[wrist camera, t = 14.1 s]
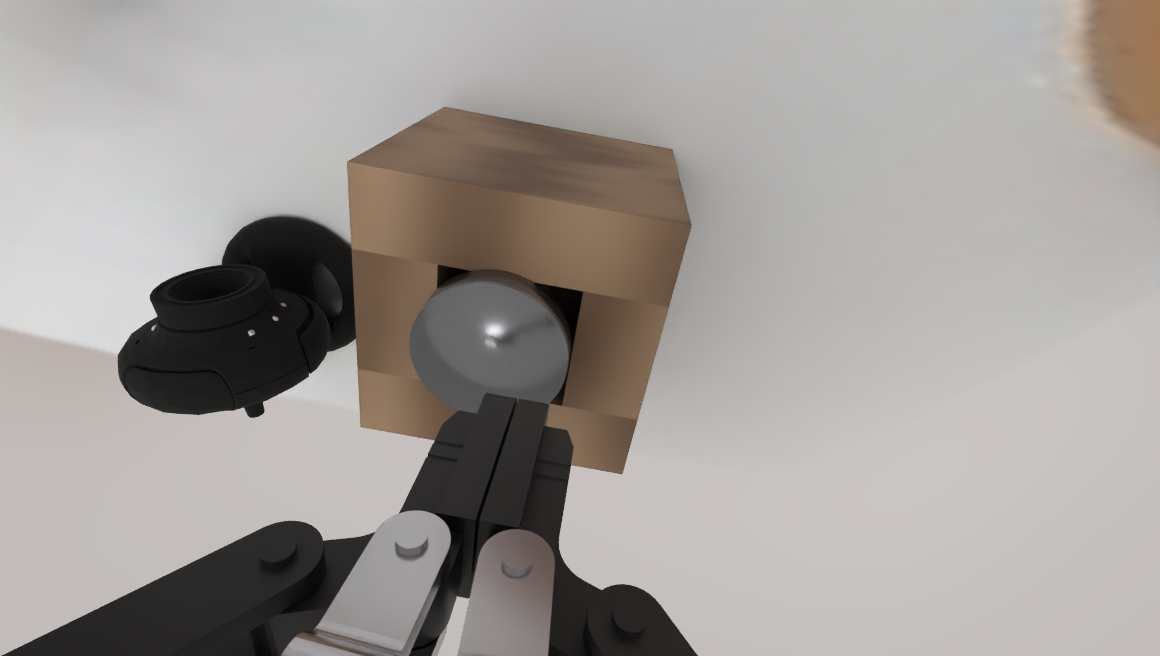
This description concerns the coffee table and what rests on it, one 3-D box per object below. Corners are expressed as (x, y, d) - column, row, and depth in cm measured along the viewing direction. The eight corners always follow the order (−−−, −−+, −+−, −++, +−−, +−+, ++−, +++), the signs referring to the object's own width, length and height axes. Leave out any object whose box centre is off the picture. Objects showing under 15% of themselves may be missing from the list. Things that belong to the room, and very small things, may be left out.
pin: (599, 197, 25) (580, 304, 16) (580, 295, 28) (555, 432, 19) (489, 176, 25) (410, 271, 16) (480, 276, 28) (408, 405, 19)
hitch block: (672, 149, 24) (691, 225, 16) (625, 342, 29) (622, 474, 21) (444, 107, 24) (347, 162, 16) (437, 307, 29) (360, 426, 21)
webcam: (363, 216, 27) (238, 317, 18) (389, 347, 31) (294, 481, 22) (210, 210, 28) (19, 306, 19) (253, 340, 31) (110, 468, 23)
